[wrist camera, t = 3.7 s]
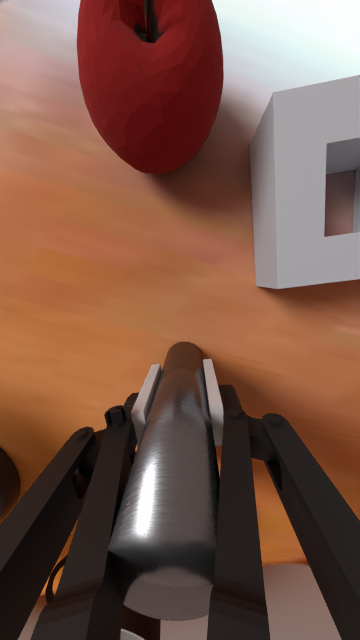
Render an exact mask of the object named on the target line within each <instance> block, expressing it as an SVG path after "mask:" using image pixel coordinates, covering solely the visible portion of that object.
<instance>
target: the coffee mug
mask: <svg viewBox="0 0 360 640" xmlns="http://www.w3.org/2000/svg"><path fill="white" fill-rule="evenodd" d="M67 556H68V555H67ZM67 556H66V557H64V558H63V559H62V560H61V561H60V562H59V563H58V564H57V565H56V567H55V568H54V570H53V571H52V573H51V575H50V578H49V581H48V584H47V588H46V592H45V598H46V602H47V604H48V603H50V602H51V601H52V600H53V598H54V595H53V590H52V587H53V581H54V578H55V576H56V574H57V572H58V571H59V570H60V568H61V567H62V566H63V565H65V562H66V559H67ZM120 640H160V619H157V618H152V617H149V616H146V615H143V614H140V613H138V612H136V611H134V610H132V609H130V608H128V607H127V606H125V605H124V604H123V613H122V624H121V637H120Z"/></svg>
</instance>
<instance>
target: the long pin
mask: <svg viewBox="0 0 360 640" xmlns="http://www.w3.org/2000/svg"><path fill="white" fill-rule="evenodd" d="M219 487H220V477H219V470H218V463H217V456H216V448H215V441H214V434H213V427H212V422H211V416H210V409H209V402H208V394H207V387H206V380H205V372H204V364H203V356H202V353H201V351H200V349H199V348H198V347H197V346H196V345H194V344H192V343H190V342H179V343H176V344H175V345H173V346H172V347H171V348H170V349H169V351H168V353H167V356H166V359H165V362H164V366H163V369H162V372H161V375H160V378H159V382H158V385H157V388H156V391H155V394H154V398H153V401H152V404H151V407H150V410H149V414H148V417H147V420H146V423H145V427H144V430H143V433H142V436H141V439H140V443H139V446H138V449H137V452H136V455H135V459H134V462H133V465H132V468H131V471H130V475H129V478H128V481H127V484H126V487H125V491H124V494H123V497H122V500H121V503H120V507H119V510H118V513H117V516H116V520H115V523H114V527H113V531H112V535H111V539H110V543H109V547H108V552H109V556H110V559H111V563H112V566H113V570H114V573H115V577H116V580H117V584H118V587H119V591H120V594H121V598H122V601H123V604H124V605H125V606H127V607H128V608H130V609H132V610H134V611H136V612H138V613H140V614H143V615H146V616H149V617H152V618H157V619H162V620H171V621H181V620H182V621H183V620H191V619H196V618H200V617H203V616H206V615H208V614H209V605H210V595H211V590H212V587H213V583H214V570H215V553H216V537H217V520H218V504H219Z"/></svg>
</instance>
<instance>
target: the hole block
mask: <svg viewBox="0 0 360 640" xmlns="http://www.w3.org/2000/svg"><path fill="white" fill-rule="evenodd" d="M249 147H250V168H251V190H252V212H253V234H254V255H255V277H256V286H260V287H267V288H274V289H282V288H290V287H299V286H307V285H315V284H323V283H331V282H339V281H348V280H356V279H360V75H358V76H353V77H348V78H343V79H338V80H333V81H328V82H323V83H318V84H313V85H309V86H304V87H299V88H294V89H289V90H284V91H279V92H274V93H273V94H272V96H271V99H270V101H269V103H268V105H267V108H266V110H265V112H264V114H263V117H262V119H261V121H260V123H259V126H258V128H257V130H256V132H255V135H254V137H253V139H252V141H251V144H250V146H249ZM352 170H356V176H355V194H354V213H353V231H352V233H349V234H342V235H335V236H328V237H324V224H325V185H326V175H328V174H334V173H340V172H346V171H352Z"/></svg>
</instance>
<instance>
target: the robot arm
mask: <svg viewBox="0 0 360 640" xmlns="http://www.w3.org/2000/svg"><path fill="white" fill-rule="evenodd" d="M203 364H204V372H205V380H206V387H207V394H208V402H209V409H210V416H211V422H212V427H213V434H214V441H215V446H220V445H222V454H221V471H220V487H219V504H218V520H217V537H216V553H215V570H214V583H213V587H212V590H211V595H210V605H209V617H208V632H207V640H270V633H269V623H268V614H267V606H266V600H265V591H264V580H263V571H262V560H261V550H260V540H259V530H258V520H257V510H256V500H255V490H254V480H253V470H252V460H251V458H255V459H259V460H263V461H264V462H265V465H266V467H267V469H268V472H269V474H270V476H271V478H272V481H273V483H274V485H275V488H276V490H277V492H278V494H279V497H280V499H281V501H282V504H283V506H284V508H285V510H286V513H287V515H288V517H289V520H290V522H291V524H292V526H293V529H294V531H295V533H296V536H297V538H298V540H299V543H300V545H301V547H302V549H303V552H304V554H305V556H306V559H307V561H308V563H309V565H310V568H311V570H312V572H313V575H314V577H315V579H316V581H317V584H318V586H319V588H320V590H321V593H322V595H323V597H324V600H325V602H326V604H327V607H328V609H329V611H330V613H331V616H332V618H333V620H334V623H335V625H336V627H337V629H338V632H339V634H340V636H341V639H342V640H360V521H359V519H358V518H357V516H356V515H355V514H354V512H353V511H352V509H351V508H350V507H349V505H348V504H347V503H346V501H345V500H344V498H343V497H342V496H341V494H340V493H339V492H338V490H337V489H336V487H335V486H334V485H333V483H332V482H331V480H330V479H329V478H328V476H327V475H326V474H325V472H324V471H323V469H322V468H321V467H320V465H319V464H318V462H317V461H316V460H315V458H314V457H313V456H312V454H311V453H310V451H309V450H308V449H307V447H306V446H305V444H304V443H303V442H302V440H301V439H300V438H299V436H298V435H297V433H296V432H295V431H294V429H293V428H292V426H291V425H290V424H289V422H288V421H287V420H286V419H285V418H284V417H282V416H281V415H278V414H273V413H269V414H265V415H264V416H263V417H262V420H261V419H255V418H252V417H249V416H248V415H246V413H245V412H244V411H243V410H242V407H241V405H240V402H239V399H238V397H237V394H236V392H235V389H234V388H233V387H232V386H231V385H219V386H218V384H217V380H216V376H215V372H214V367H213V363H212V359H204V360H203ZM160 375H161V366H160V364H152V366H151V368H150V370H149V373H148V375H147V377H146V379H145V382H144V384H143V386H142V388H141V391H140V393H132V394H131V395H130V396H129V397H128V398H127V400H126V403H125V404H124V406H122V405H119V406H115V407H112V408H110V409H109V410H108V411H106V413H105V414H104V415H105V419H106V423H107V428H106V429H104V430H101V431H97V432H94V430H93V428H91V427H85V428H82V429H79V430H78V431H76V432H75V433H74V434H73V435H72V436H71V437H70V438H69V439H68V441H67V442H66V443H65V444H64V446H63V447H62V448H61V449H60V451H59V452H58V453H57V454H56V456H55V457H54V458H53V460H52V461H51V462H50V463H49V465H48V466H47V467H46V468H45V470H44V471H43V472H42V473H41V475H40V476H39V477H38V478H37V480H36V481H35V482H34V483H33V485H32V486H31V487H30V488H29V490H28V491H27V492H26V493H25V495H24V496H23V497H22V498H21V500H20V501H19V502H18V503H17V505H16V506H15V507H14V509H13V510H12V511H11V512H10V514H9V515H8V516H7V517H6V519H5V520H4V521H3V522H2V524H1V525H0V640H18V638H19V636H20V634H21V632H22V630H23V628H24V626H25V624H26V622H27V620H28V618H29V616H30V614H31V612H32V610H33V608H34V606H35V604H36V602H37V600H38V598H39V596H40V594H41V592H42V590H43V588H44V586H45V584H46V582H47V580H48V578H49V576H50V574H51V572H52V570H53V568H54V566H55V564H56V562H57V560H58V558H59V556H60V554H61V552H62V550H63V547H64V545H65V543H66V541H67V539H68V537H69V535H70V533H71V531H72V529H73V527H74V525H75V523H76V521H77V519H78V517H79V520H78V523H77V526H76V529H75V533H74V536H73V539H72V543H71V546H70V549H69V552H68V556H67V559H66V562H65V565H64V569H63V572H62V575H61V578H60V582H59V585H58V588H57V591H56V594H55V597H54V598H53V600H52V601H51V602H50V603H48V604H47V605H46V606H45V607H44V609H43V610H42V612H41V613H40V616H39V618H38V621H37V623H36V626H35V628H34V631H33V634H32V637H31V640H120V637H121V624H122V613H123V601H122V598H121V594H120V591H119V587H118V584H117V580H116V577H115V573H114V570H113V566H112V563H111V559H110V556H109V552H108V547H109V543H110V539H111V535H112V531H113V527H114V523H115V520H116V516H117V513H118V510H119V507H120V503H121V500H122V497H123V494H124V491H125V487H126V484H127V481H128V478H129V475H130V471H131V468H132V465H133V462H134V459H135V455H136V452H135V448H136V445H138V446H139V443H140V439H141V436H142V433H143V430H144V427H145V423H146V420H147V417H148V414H149V410H150V407H151V404H152V401H153V398H154V394H155V391H156V388H157V385H158V382H159V378H160ZM75 471H76V472H75ZM19 491H20V483H19V478H18V475H17V472H16V470H15V468H14V466H13V464H12V463H11V461H10V460H9V459H8V457H7V456H6V455H5V454H4V453H3V452H2V451H1V450H0V522H1V521H2V520H3V518H4V517H5V516H6V514H7V513H8V512H9V511H10V509H11V508H12V507H13V505H14V504H15V503H16V501H17V499H18V496H19ZM79 515H80V516H79Z"/></svg>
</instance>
